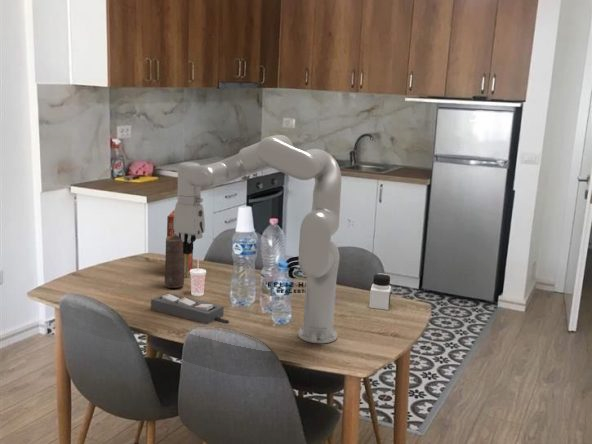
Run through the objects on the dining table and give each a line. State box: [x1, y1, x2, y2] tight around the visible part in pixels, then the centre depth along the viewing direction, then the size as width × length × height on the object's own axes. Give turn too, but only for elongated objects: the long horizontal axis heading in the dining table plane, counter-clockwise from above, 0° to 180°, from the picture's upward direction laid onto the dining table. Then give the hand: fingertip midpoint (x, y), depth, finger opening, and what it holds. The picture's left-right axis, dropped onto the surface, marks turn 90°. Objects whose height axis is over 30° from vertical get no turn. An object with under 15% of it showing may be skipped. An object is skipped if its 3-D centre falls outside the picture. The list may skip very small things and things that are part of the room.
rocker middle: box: [178, 298, 196, 306], centre depth 221 cm, size 5×4×1 cm
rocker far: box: [162, 293, 180, 302], centre depth 224 cm, size 5×4×1 cm
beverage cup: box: [189, 257, 207, 297], centre depth 240 cm, size 6×6×14 cm
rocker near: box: [195, 303, 214, 311], centre depth 218 cm, size 5×4×1 cm
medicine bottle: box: [368, 273, 392, 311], centre depth 238 cm, size 7×7×12 cm
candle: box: [164, 235, 185, 289], centre depth 246 cm, size 8×7×20 cm
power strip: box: [150, 292, 230, 325], centre depth 221 cm, size 29×9×4 cm, turn 62°
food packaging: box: [166, 209, 194, 279], centre depth 264 cm, size 13×9×25 cm
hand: (188, 253), depth 218 cm, fingers closed
